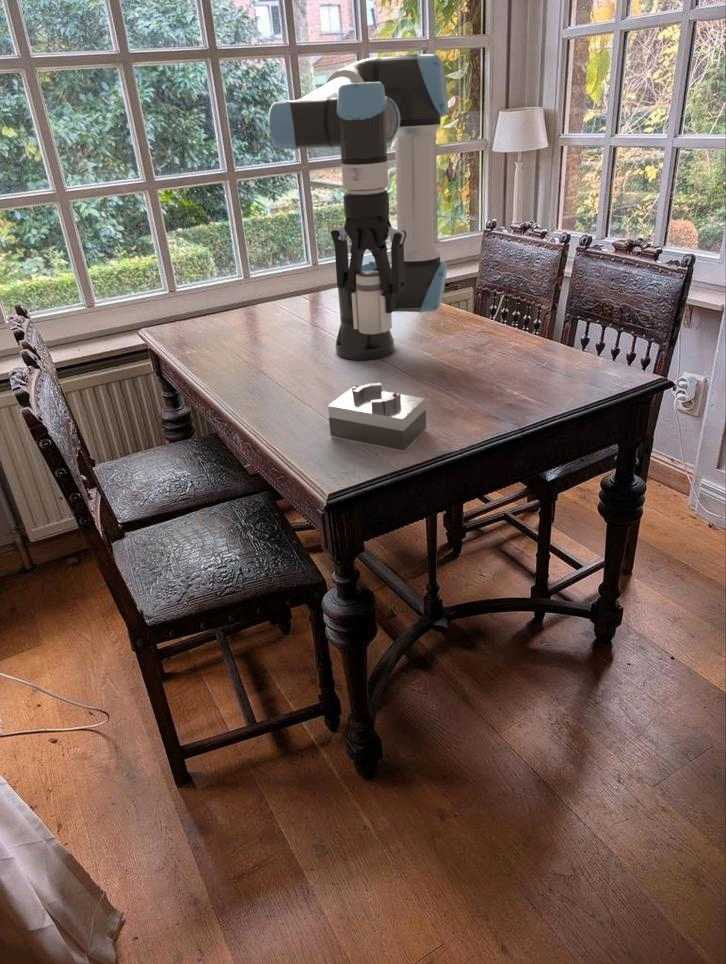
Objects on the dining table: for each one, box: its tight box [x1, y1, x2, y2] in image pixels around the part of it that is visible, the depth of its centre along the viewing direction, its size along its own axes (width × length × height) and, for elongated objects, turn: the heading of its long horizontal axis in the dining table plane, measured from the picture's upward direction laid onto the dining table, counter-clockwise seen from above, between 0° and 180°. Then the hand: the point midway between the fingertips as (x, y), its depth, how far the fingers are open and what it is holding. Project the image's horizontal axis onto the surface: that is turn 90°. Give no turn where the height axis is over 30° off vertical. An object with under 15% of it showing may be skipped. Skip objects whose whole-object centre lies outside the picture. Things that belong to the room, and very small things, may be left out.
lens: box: [356, 270, 384, 334], centre depth 121 cm, size 5×5×10 cm
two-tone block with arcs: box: [327, 382, 427, 454], centre depth 133 cm, size 16×10×10 cm, turn 61°
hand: (372, 328), depth 124 cm, fingers closed on lens, 5 cm apart
